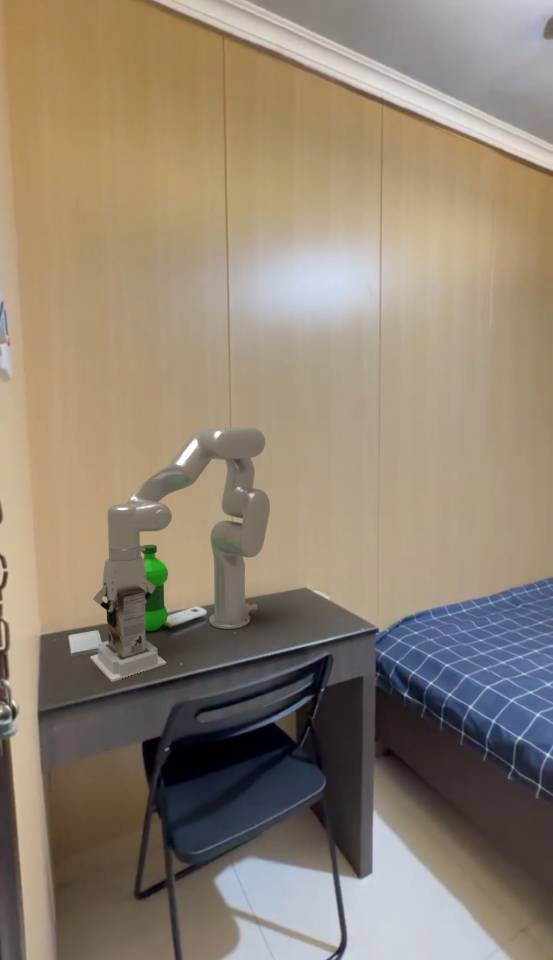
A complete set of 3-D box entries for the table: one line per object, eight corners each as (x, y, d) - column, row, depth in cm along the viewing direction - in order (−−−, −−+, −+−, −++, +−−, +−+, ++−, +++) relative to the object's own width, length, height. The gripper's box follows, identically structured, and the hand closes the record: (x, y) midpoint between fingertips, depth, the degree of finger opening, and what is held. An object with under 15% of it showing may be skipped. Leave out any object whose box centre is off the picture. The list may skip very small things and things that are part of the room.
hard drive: (103, 647, 131) (98, 629, 142) (70, 653, 127) (68, 634, 138) (104, 652, 131) (98, 634, 142) (71, 659, 127) (68, 640, 138)
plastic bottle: (128, 626, 147) (125, 545, 144) (160, 618, 153) (158, 540, 151) (141, 637, 139) (139, 552, 136) (175, 628, 146) (173, 546, 143)
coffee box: (107, 646, 126) (105, 585, 124) (130, 638, 130) (129, 580, 128) (122, 658, 119) (121, 594, 117) (147, 650, 123) (145, 589, 122)
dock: (141, 643, 135) (140, 631, 135) (166, 664, 124) (165, 650, 123) (90, 658, 126) (89, 645, 126) (111, 682, 115) (111, 667, 114)
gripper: (150, 545, 130) (151, 609, 132) (84, 555, 119) (86, 625, 121) (163, 551, 124) (164, 618, 126) (95, 562, 113) (97, 635, 115)
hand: (126, 621), depth 124 cm, fingers closed on coffee box, 6 cm apart
